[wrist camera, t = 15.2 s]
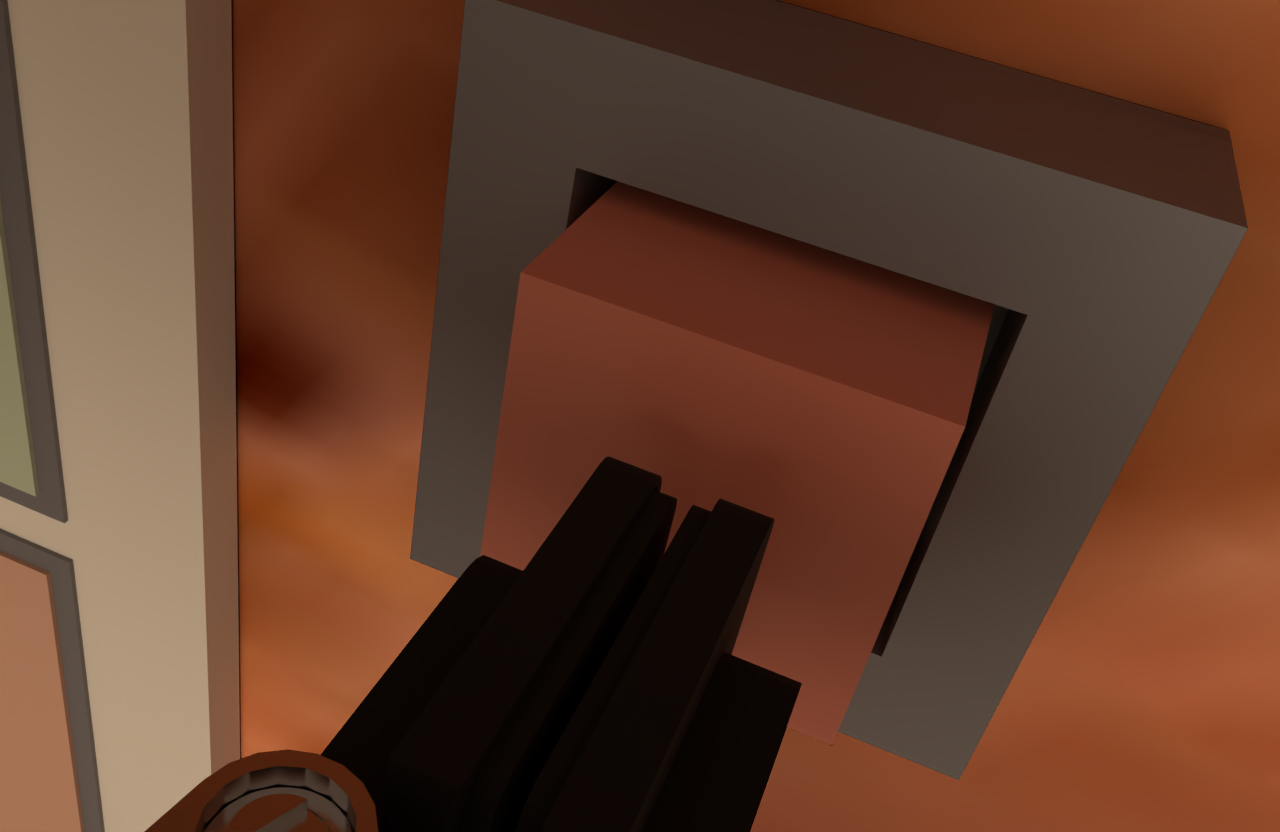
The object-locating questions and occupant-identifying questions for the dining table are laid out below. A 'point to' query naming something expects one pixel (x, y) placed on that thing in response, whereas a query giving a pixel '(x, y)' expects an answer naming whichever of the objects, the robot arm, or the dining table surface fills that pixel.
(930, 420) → the button
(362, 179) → the dining table surface
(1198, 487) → the dining table surface
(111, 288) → the picture board
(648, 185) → the button housing
